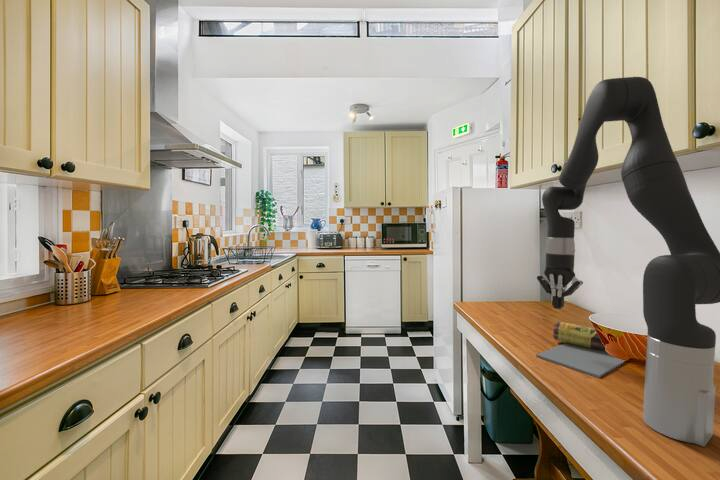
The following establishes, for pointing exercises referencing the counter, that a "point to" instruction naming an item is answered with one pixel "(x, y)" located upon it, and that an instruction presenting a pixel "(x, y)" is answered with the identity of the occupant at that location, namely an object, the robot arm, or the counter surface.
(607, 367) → the mat
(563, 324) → the sauce bottle
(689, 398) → the robot arm
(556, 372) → the counter surface
